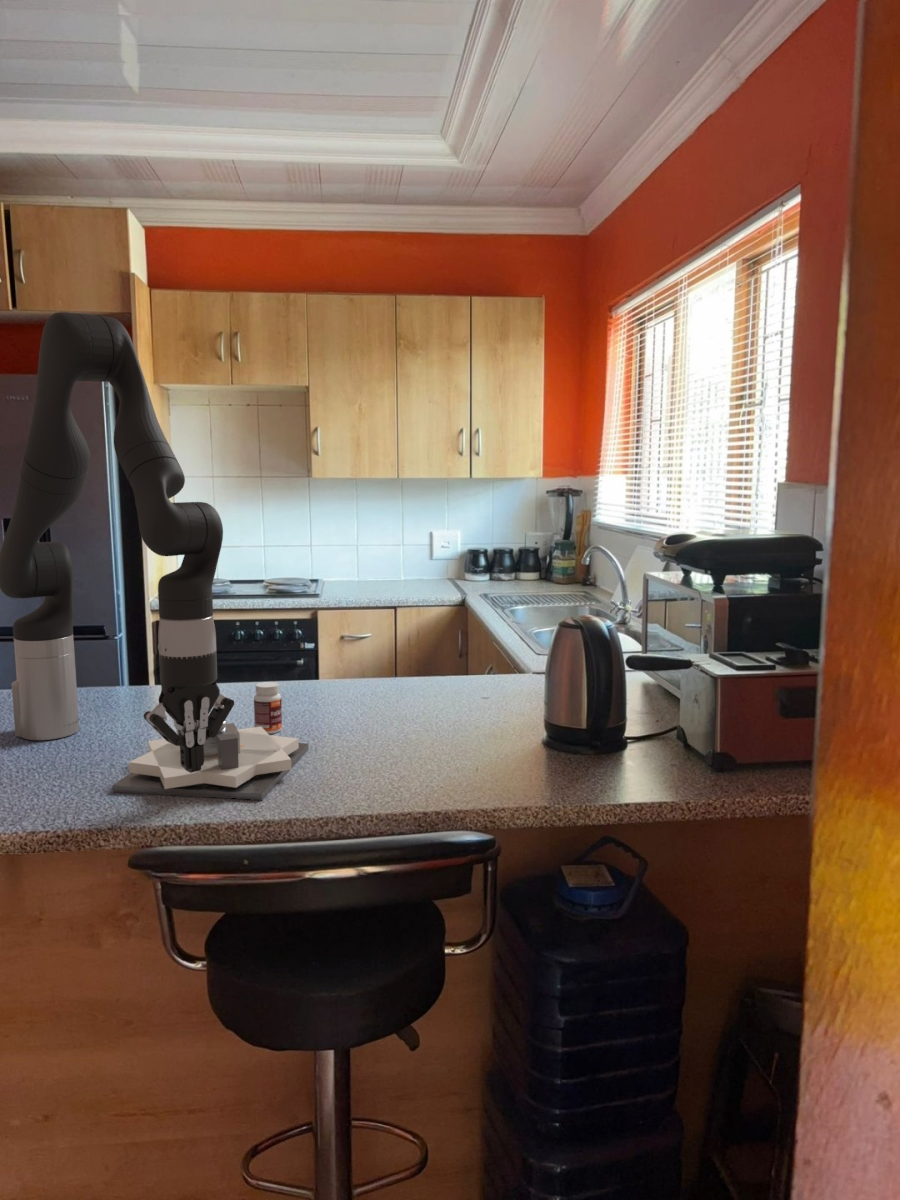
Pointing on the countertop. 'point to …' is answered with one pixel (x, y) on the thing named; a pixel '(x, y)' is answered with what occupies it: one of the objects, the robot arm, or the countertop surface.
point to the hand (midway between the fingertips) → (193, 770)
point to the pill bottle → (268, 707)
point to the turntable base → (248, 790)
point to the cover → (211, 743)
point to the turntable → (219, 760)
